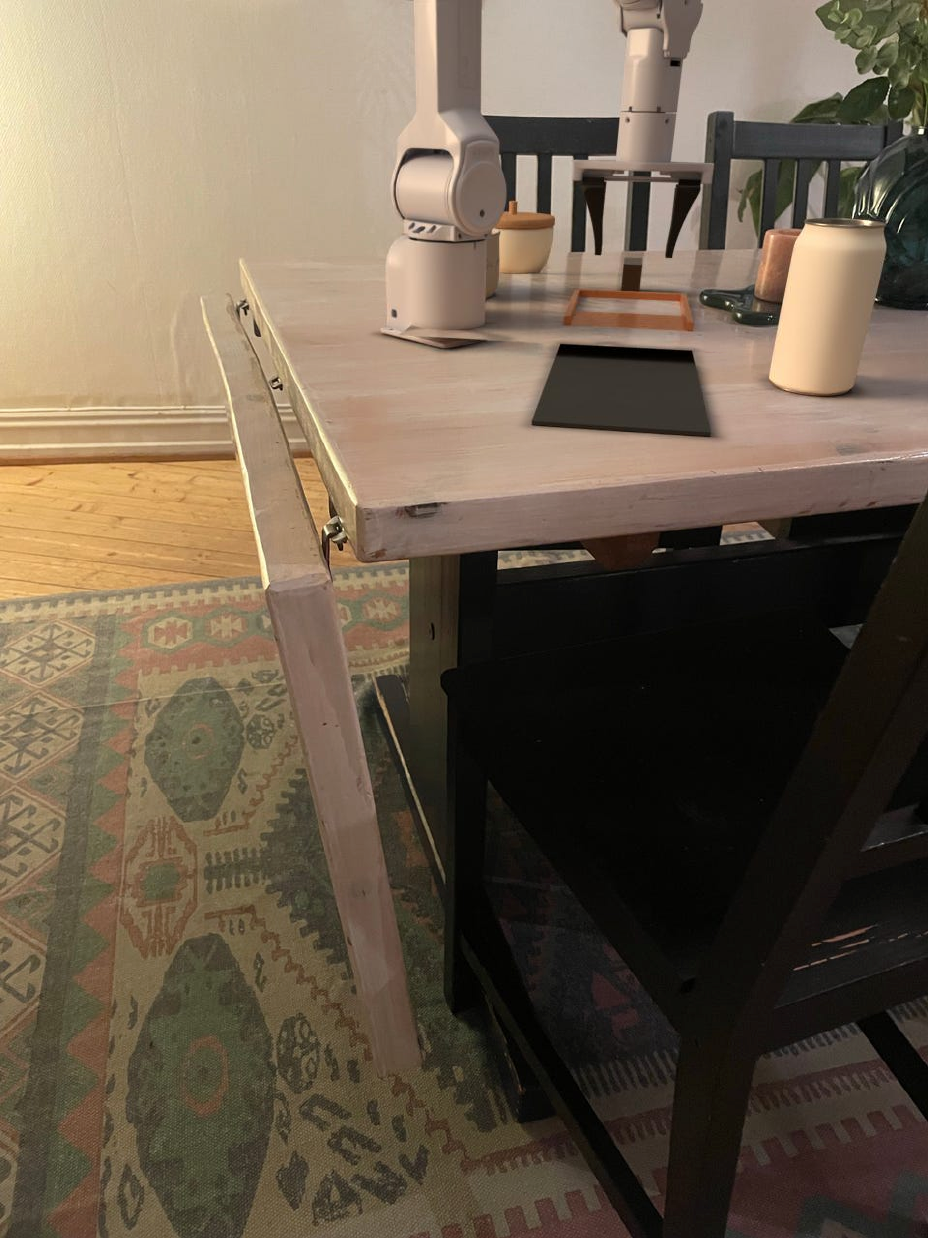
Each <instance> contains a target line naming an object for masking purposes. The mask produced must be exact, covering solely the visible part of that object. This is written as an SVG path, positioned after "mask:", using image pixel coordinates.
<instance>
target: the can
mask: <svg viewBox="0 0 928 1238" xmlns="http://www.w3.org/2000/svg"><path fill="white" fill-rule="evenodd" d="M803 222H804V226H803V228H802V230H801V231H800V233H799V235H798V236H797V238H796V239H795V242H794V244H793V248H792V252H791V258H790V263H789V269H788V272H787V273H788V275H787V279H786V284H785V289H784V294H783V300H782V305H781V310H780V315H779V319H778V320H779V321H778V325H777V331H776V335H775V342H774V347H773V352H772V357H771V363H770V369H769V375H768V378H769V380H770V381H771V384H772V386H774V387H776V388H777V389H780V390H783V391H785V392H790V393H794V394H799V395H807V396H816V397H818V396H819V397H827V396H828V397H832V396H840V395H844V394H847V393H848V392H849V390H850V389H852V388H854V386H855V383H856V378H857V375H858V371H859V366H860V363H861V359H862V354H863V350H864V347H865V342H866V337H867V334H868V330H869V327H870V326H869V325H870V322H871V318H872V313H873V310H874V306H875V305H874V304H875V301H876V298H877V297H876V296H877V292H878V287H879V283H880V279H881V276H882V271H883V266H884V264H885V263H884V262H885V258H886V254H887V242H886V237H885V228H886V226H887V224H886V223H885V222H882V221H877V220H869V219H859V218H841V217H840V218H839V217H836V218H835V217H815V218H805V219H804V221H803Z"/></svg>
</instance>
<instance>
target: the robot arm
mask: <svg viewBox="0 0 928 1238" xmlns="http://www.w3.org/2000/svg"><path fill="white" fill-rule="evenodd" d="M612 1H613V3H614V7H615V19H616V23H617V28H618V30H619V33H621V34H622V35H623V36H624V37H625V38H626V46H625V55H624V67H623V68H624V69H623V80H622V91H621V102H620V113H619V124H618V134H617V145H616V146H617V147H616V154H615V160H614V159H613V160H612V159H574V160H573V163H572V176H571V177H572V178H571V180H572V181H577V182H582V183H581V191H582V194H583V197H584V200H585V203H586V206H587V210H588V213H589V218H590V222H591V227H592V232H593V241H594V256H602V254H603V245H604V244H603V240H604V214H605V213H604V212H605V205H606V204H605V203H606V195H607V194H606V192H607V182H631V183H632V182H633V183H634V182H635V183H668V184H670V183H672V184H675V187H674V191H673V201H672V208H671V210H672V211H671V220H670V225H669V230H668V236H667V240H666V245H665V253H664V256H665V259H673V256H674V250H675V248H676V244H677V241H678V238H679V235H680V232H681V230H682V228H683V226H684V223H685V221H686V219H687V217H688V215H689V213H690V211H691V210H692V207H693V205H694V204H695V202H696V200H697V198H698V196H700V195H699V194H700V192H701V188H702V187H701V185H712V184H713V176H714V170H715V163H713V162H692V161H691V162H690V161H672V155H673V146H674V139H675V130H676V122H677V112H678V107H679V99H680V98H679V97H680V89H681V80H682V71H683V63H684V60H685V59H687V58H688V54H689V53H690V51H691V44H692V43H691V42H692V38H693V35H694V32H695V31H696V29H697V27H698V25H699V23H700V21H701V17H702V14H703V9H704V3H703V2H702V0H612ZM482 9H483V0H413V27H414V28H413V29H414V34H413V35H414V68H415V69H414V70H415V72H414V73H415V107H416V108H415V110H416V111H415V114H414V116H413V118H412V119H411V120H410V121H409V123H407V125H406V126H405V128H404V129H403V131H401V133H400V134H399V136H398V137H397V139H396V147H397V150H396V153H397V155H396V162H395V165H394V169H393V172H392V175H391V179H390V187H389V191H390V201H391V204H392V208H393V210H394V212H395V214H396V215H397V217H398V219H399V220H401V222H403V233H405V235H402V236H401V237H399V236H398V238H395V240H394V241H393V243H391V246H390V247H389V250H388V252H387V254H386V258H385V291H386V292H385V295H386V296H385V297H386V301H385V302H386V326H381V327H380V333H381V334H386V335H389V336H392V337H397V338H401V339H405V340H409V341H412V342H417V343H419V344H420V343H421V344H425V345H428V346H432V347H436V348H440V349H451V348H455V347H460V346H466V345H470V344H476V343H481V342H485V341H487V339H482V338H481V339H480V338H463V337H462V338H461V337H460V338H459V337H445V336H444V337H443V336H424V335H423V336H422V335H404V334H403V333H405V331H406V330H407V329H408V328H409V327H411V326H414V327H417V328H422V329H428V330H438V331H459V330H470V329H476V328H479V327H482V326H484V325H485V323H486V298H485V294H486V252H487V239H490V238H492V230H493V229H494V227H495V226H496V225H497V224H498V222H499V221H500V219H501V217H502V214H503V212H505V208H506V203H507V192H508V191H507V183H506V178H505V175H504V172H503V169H502V166H501V165H502V164H501V160H500V140H499V138H498V136H497V135H496V133H495V131H494V130H493V128H492V127H491V126H490V125H489V123H488V122H487V120H486V118H485V117H484V116H483V114H482V28H483V26H482V24H483V23H482V22H483V20H482V19H483V17H482V16H483V14H482V13H483V12H482V11H483V10H482ZM444 151H447V152H448V153H449V154H443V152H444ZM625 172H651V173H652V172H654V173H658V172H659V175H660V176H643V175H642V176H639V175H638V176H637V175H635V176H634V175H624V174H625ZM402 334H403V335H402Z"/></svg>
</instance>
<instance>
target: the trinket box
mask: <svg viewBox="0 0 928 1238" xmlns="http://www.w3.org/2000/svg"><path fill="white" fill-rule="evenodd" d="M555 224H556V217H555V216H554V215H552V214H549V213H542V212H541V213H540V212H529V211H518V201H517V200H510V201H509V203H508V211H504V212H503V214H502V217H501V219H500V221H499V222H498V224H497V225H496V226H495V227H494V228H496V229H498V230H500V236H499V257H500V260H499V274H530V273H531V274H533V273H534V274H540V273H541V272H542V271H543V270H544V268H545V266H546V265H547V263H548V261H549V259H550V255H551V252H552V247H553V240H554V230H555V229H554V228H555V227H554V226H555Z"/></svg>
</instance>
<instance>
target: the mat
mask: <svg viewBox="0 0 928 1238" xmlns="http://www.w3.org/2000/svg"><path fill="white" fill-rule="evenodd" d="M694 356H695V355H694V352H693V350H692V349H672V348H655V347H637V346H635V347H634V346H615V345H595V344H579V343H578V344H577V343H575V344H574V343H559V346H558V348H557V351H556V354H555V357H554V360H553V362H552V365H551V368H550V370H549V373H548V375H547V379H546V381H545V384H544V387H543V390H542V392H541V395H540V397H539V400H538V402H537V404H536V408H535V411H534V414H533V416H532V419H531V425H532V426H544V427H546V426H547V427H559V428H560V427H561V428H572V429H573V428H575V429H590V430H603V431H605V430H607V431H620V432H621V431H622V432H636V433H650V434H651V433H652V434H653V433H654V434H665V435H666V434H667V435H679V436H680V435H682V436H697V437H711V435H712V432H711V427H710V422H709V418H708V414H707V409H706V405H705V400H704V396H703V392H702V388H701V383H700V378H699V374H698V370H697V365H696V361H695V357H694Z"/></svg>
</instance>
